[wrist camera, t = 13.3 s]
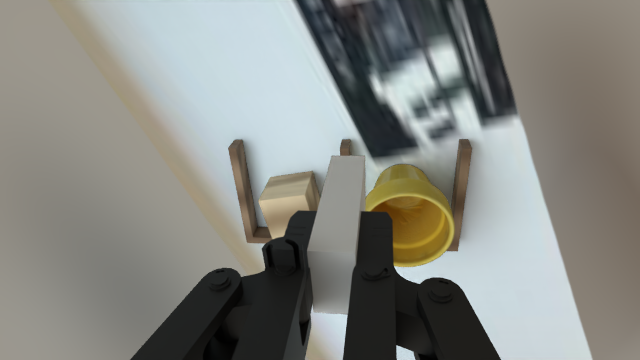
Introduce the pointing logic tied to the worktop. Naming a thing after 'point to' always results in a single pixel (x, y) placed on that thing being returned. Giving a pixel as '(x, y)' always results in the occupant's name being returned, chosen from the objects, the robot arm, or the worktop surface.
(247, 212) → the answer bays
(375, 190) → the plant pot
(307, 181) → the oak block
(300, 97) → the worktop surface
